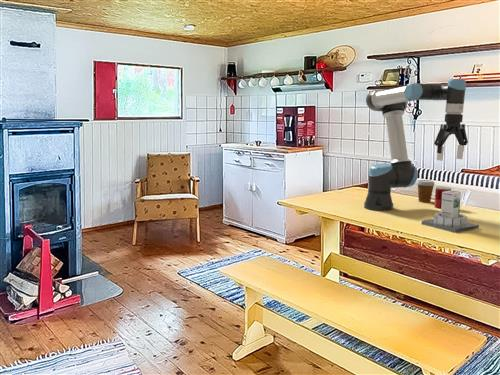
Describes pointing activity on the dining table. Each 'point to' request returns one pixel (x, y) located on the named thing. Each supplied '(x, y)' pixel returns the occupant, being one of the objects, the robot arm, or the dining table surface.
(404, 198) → the dining table surface
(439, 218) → the ring plate
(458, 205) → the syrup box
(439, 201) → the canned food
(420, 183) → the disposable coffee cup
